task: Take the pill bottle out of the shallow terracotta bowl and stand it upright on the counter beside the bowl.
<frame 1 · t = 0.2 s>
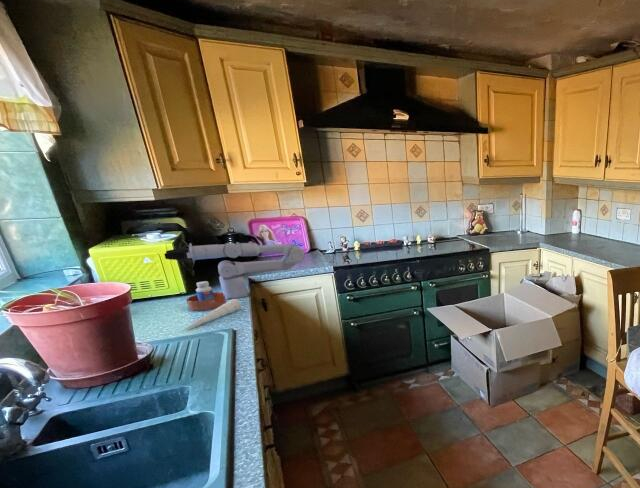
hand: (165, 255, 172), 21 cm above the counter, tool horizontal, fingers open, 7 cm apart
pill bottle: (208, 305, 176), resting on bowl
bowl: (208, 306, 176), on the counter
unicorn horn: (216, 319, 162), on the counter
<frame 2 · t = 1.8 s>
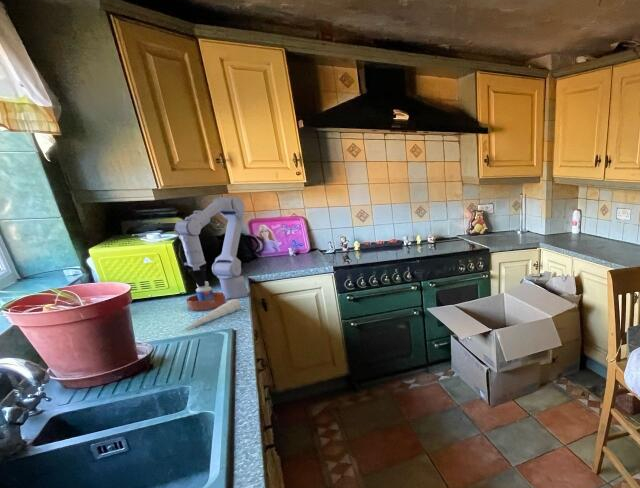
hand: (202, 284, 173), 10 cm above the counter, tool pointing down, fingers open, 7 cm apart
nothing on the counter moved.
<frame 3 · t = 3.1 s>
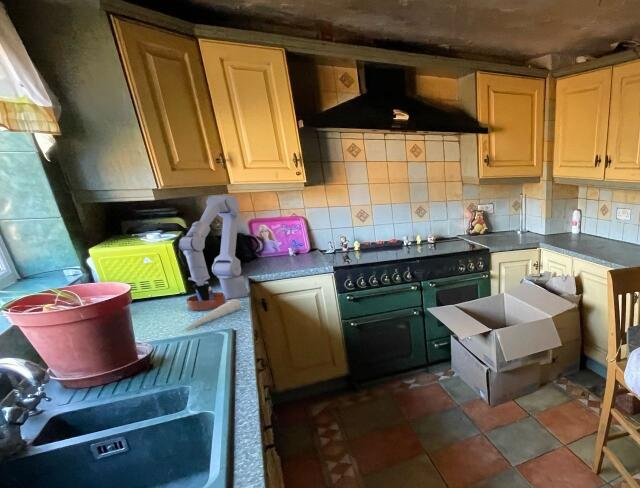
hand: (206, 298, 175), 4 cm above the counter, tool pointing down, fingers closed on pill bottle, 5 cm apart
pill bottle: (208, 305, 176), resting on bowl, touching gripper
everything else where it was.
when the fingers open (3 cm above the counter, at t = 7.9 s): pill bottle stays where it is, on the counter.
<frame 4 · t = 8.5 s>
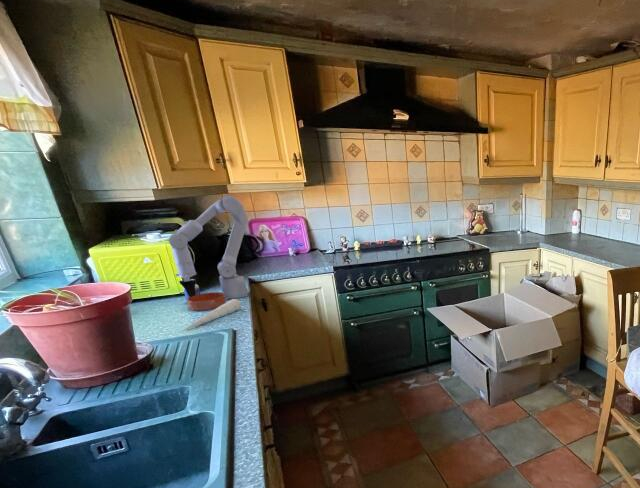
hand: (193, 294, 180), 4 cm above the counter, tool pointing down, fingers open, 7 cm apart
pill bottle: (195, 302, 181), on the counter
everything else where it was.
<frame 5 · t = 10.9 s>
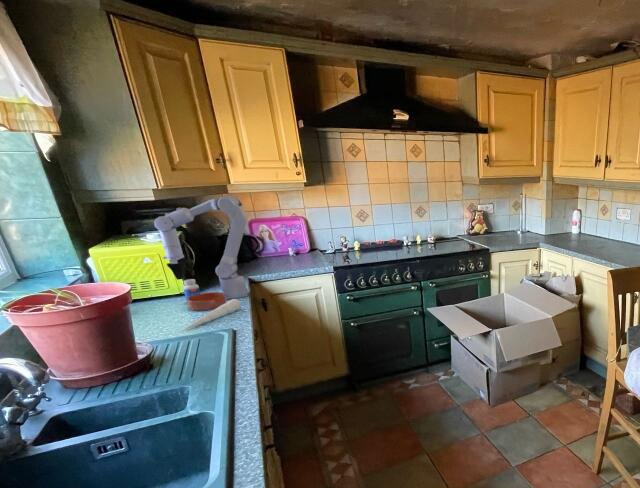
hand: (181, 277, 180), 10 cm above the counter, tool pointing down, fingers open, 7 cm apart
nothing on the counter moved.
at the end: pill bottle 0.1 cm from the target spot, on the counter; pill bottle tilted 0°; pill bottle touching counter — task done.
